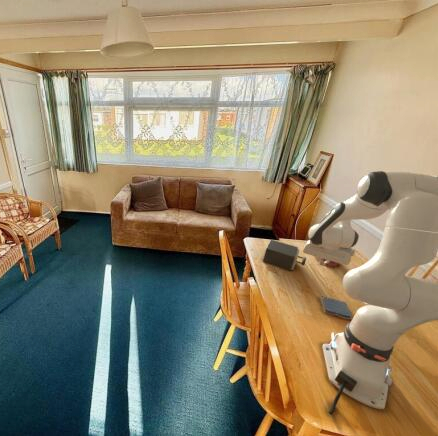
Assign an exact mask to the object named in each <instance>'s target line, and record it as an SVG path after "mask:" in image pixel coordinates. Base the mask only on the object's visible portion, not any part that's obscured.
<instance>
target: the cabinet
mask: <svg viewBox="0 0 438 436" xmlns="http://www.w3.org/2000/svg"><path fill="white" fill-rule="evenodd" d="M297 249H299V247H298V246H295V245H292V244H288V243H285V242H281V241H277V240H275V239H270V241H269V243H268V244H267V246H266V248H265V251H264V256H263V260H262V262H263V263H266V264H268V265H271V266H274V267H277V268H280V269H283V270H287V271H289V272H291V270H292V269H291V267H292V264H293V261H294V258H295V255H296V252H297Z"/></svg>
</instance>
